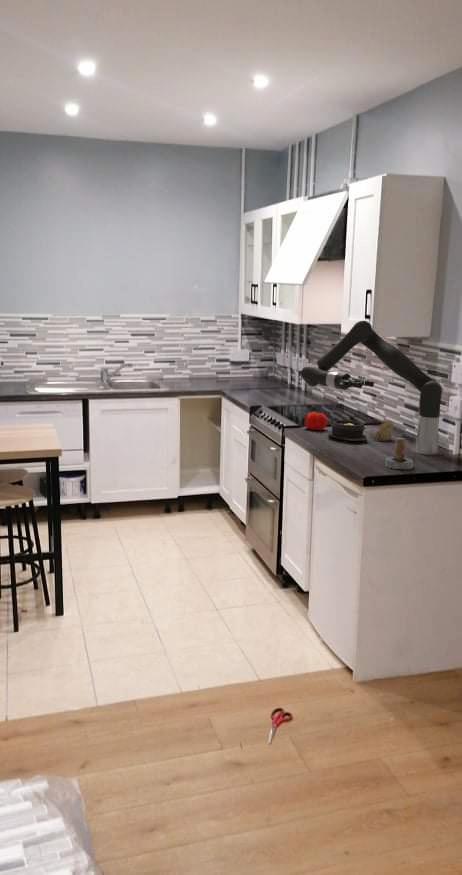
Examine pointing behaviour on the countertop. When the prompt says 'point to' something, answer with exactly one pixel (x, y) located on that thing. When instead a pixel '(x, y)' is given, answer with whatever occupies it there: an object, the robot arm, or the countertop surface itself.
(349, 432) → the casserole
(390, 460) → the collar
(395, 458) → the dowel
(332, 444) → the countertop surface
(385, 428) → the rock
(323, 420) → the tomato
